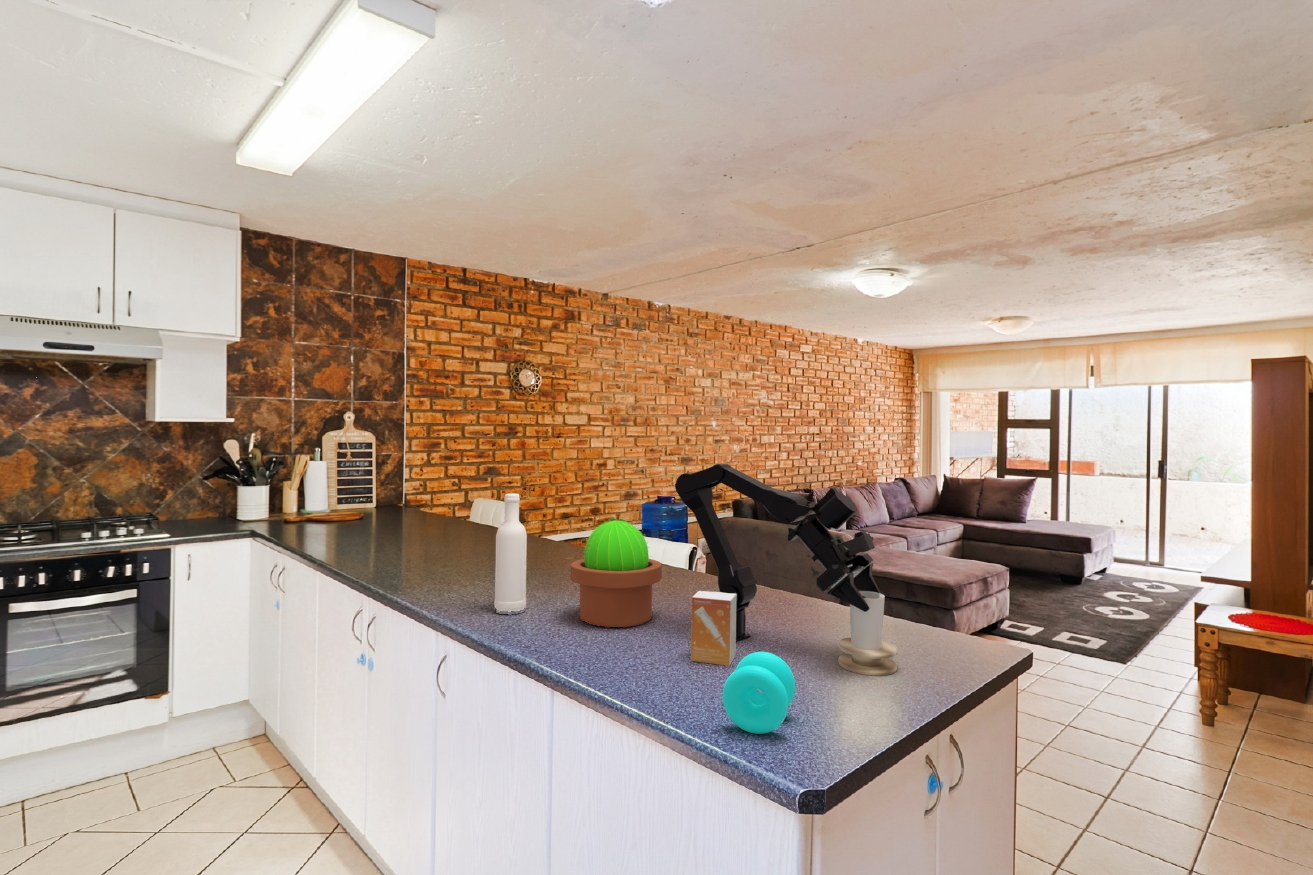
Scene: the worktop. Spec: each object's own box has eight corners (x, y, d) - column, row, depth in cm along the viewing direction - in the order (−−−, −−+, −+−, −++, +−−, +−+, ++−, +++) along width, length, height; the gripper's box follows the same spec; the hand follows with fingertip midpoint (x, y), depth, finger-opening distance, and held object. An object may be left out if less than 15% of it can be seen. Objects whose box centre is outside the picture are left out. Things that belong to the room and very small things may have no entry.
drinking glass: (843, 645, 127) (844, 595, 127) (856, 637, 132) (856, 589, 132) (877, 652, 123) (877, 600, 123) (889, 644, 128) (889, 594, 128)
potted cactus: (627, 637, 144) (629, 525, 144) (552, 621, 155) (554, 518, 155) (676, 615, 162) (677, 516, 162) (606, 603, 174) (607, 510, 174)
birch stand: (878, 679, 119) (878, 658, 119) (827, 664, 128) (827, 643, 128) (907, 666, 127) (907, 646, 127) (857, 652, 135) (857, 633, 135)
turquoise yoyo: (720, 730, 97) (720, 664, 98) (735, 705, 107) (736, 645, 107) (786, 742, 94) (786, 674, 94) (796, 715, 103) (797, 653, 103)
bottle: (501, 606, 168) (503, 492, 169) (530, 608, 167) (532, 493, 168) (489, 614, 160) (491, 494, 161) (519, 616, 159) (521, 495, 160)
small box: (690, 661, 128) (691, 596, 128) (697, 652, 134) (698, 589, 134) (730, 666, 125) (731, 600, 126) (736, 656, 131) (737, 592, 132)
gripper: (832, 522, 122) (891, 589, 116) (863, 514, 137) (917, 573, 131) (793, 559, 127) (848, 625, 120) (827, 547, 142) (877, 605, 135)
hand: (875, 605), depth 126 cm, fingers open, 9 cm apart
